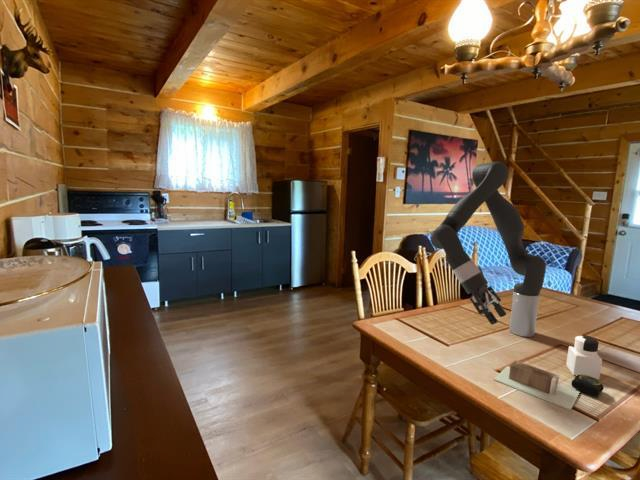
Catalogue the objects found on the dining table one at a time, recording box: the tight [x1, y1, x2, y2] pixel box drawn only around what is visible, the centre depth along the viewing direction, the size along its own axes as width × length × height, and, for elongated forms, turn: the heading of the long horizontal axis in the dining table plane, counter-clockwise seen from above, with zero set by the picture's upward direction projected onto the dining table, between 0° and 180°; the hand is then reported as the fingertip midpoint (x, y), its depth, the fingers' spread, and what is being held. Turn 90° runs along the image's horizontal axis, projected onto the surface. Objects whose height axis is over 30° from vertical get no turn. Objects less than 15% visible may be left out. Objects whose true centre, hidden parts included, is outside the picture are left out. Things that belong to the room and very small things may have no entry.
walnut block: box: [509, 360, 560, 396], centre depth 106 cm, size 4×4×12 cm
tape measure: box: [571, 375, 604, 398], centre depth 104 cm, size 7×7×4 cm
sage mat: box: [493, 365, 581, 411], centre depth 106 cm, size 12×20×1 cm, turn 44°
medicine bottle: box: [565, 335, 603, 380], centre depth 114 cm, size 7×7×12 cm
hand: (499, 319), depth 114 cm, fingers open, 8 cm apart
